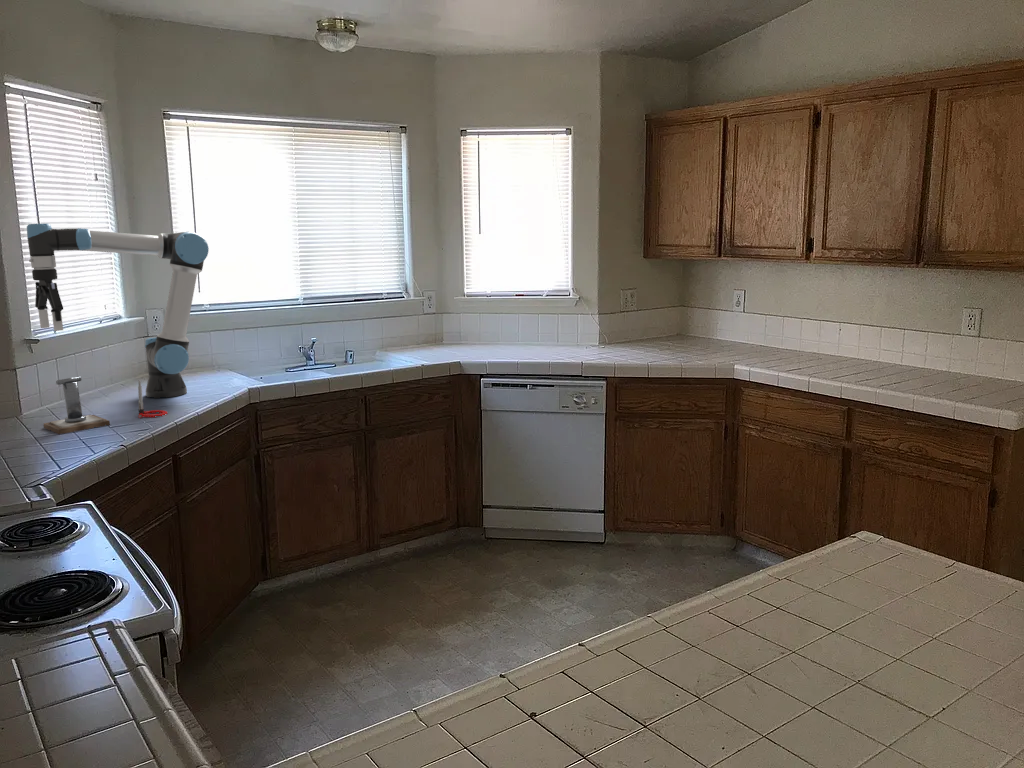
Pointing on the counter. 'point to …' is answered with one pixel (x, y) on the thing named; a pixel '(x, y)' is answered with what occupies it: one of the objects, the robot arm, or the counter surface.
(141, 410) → the tow hook
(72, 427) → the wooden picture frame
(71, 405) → the metal mooring bollard
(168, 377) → the robot arm
